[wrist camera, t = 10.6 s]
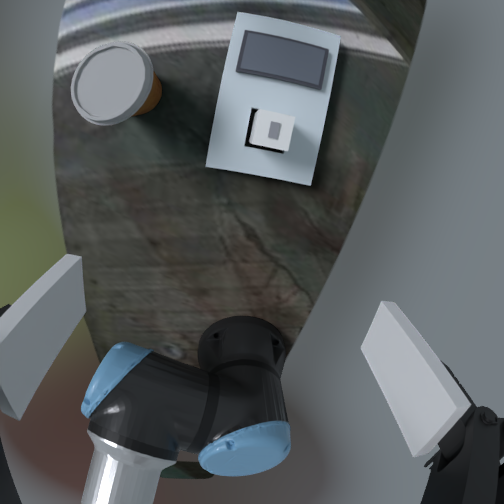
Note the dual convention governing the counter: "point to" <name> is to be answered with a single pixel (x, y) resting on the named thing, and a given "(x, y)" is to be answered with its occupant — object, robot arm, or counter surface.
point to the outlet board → (270, 107)
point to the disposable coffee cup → (115, 84)
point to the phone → (282, 59)
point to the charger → (272, 129)
